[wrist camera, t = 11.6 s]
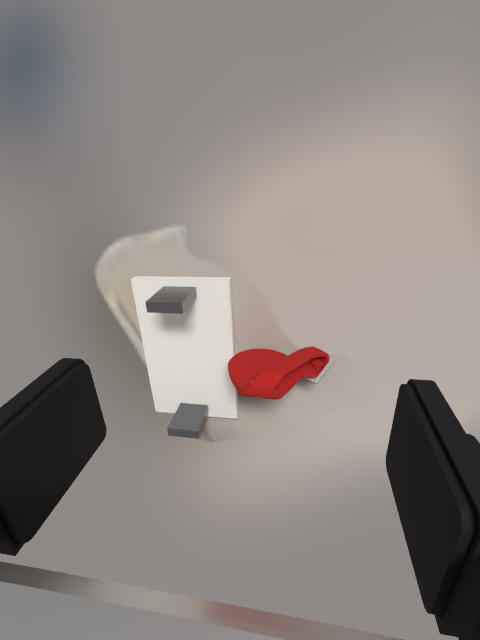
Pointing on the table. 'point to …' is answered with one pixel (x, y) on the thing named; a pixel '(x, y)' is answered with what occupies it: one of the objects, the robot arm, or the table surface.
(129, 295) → the table surface
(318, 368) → the red curved piece
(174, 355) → the board
